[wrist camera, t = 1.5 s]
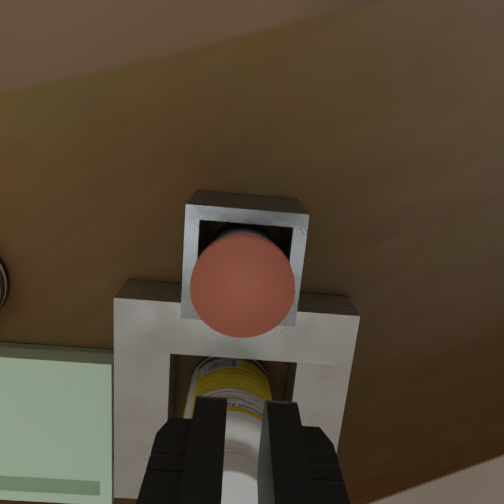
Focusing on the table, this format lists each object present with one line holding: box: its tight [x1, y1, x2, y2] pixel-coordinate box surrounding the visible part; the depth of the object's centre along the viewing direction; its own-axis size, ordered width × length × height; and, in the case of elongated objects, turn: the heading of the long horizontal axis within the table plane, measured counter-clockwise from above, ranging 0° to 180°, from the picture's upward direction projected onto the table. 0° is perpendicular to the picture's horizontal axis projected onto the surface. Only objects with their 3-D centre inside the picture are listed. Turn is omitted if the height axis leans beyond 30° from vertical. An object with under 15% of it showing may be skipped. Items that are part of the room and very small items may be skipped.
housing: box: [114, 190, 360, 499], centre depth 26 cm, size 14×20×5 cm
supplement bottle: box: [183, 356, 272, 504], centre depth 24 cm, size 5×5×10 cm
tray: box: [0, 342, 115, 504], centre depth 28 cm, size 11×11×2 cm
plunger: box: [190, 222, 296, 338], centre depth 21 cm, size 5×5×6 cm
